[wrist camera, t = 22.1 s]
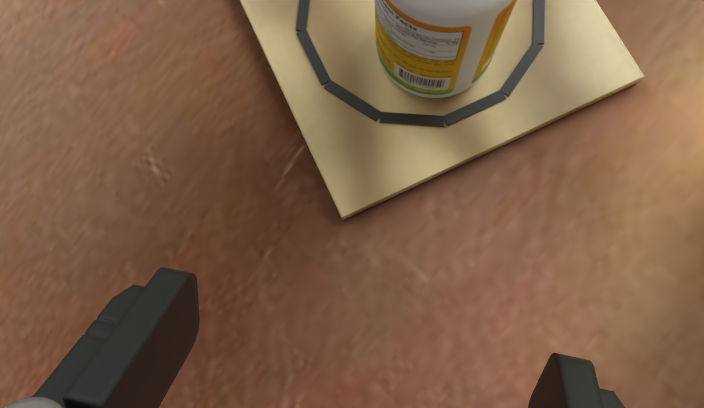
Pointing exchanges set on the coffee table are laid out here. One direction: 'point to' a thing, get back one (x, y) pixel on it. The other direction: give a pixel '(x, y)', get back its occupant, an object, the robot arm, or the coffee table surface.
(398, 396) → the coffee table surface
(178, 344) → the robot arm
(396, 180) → the board
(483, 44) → the supplement bottle
